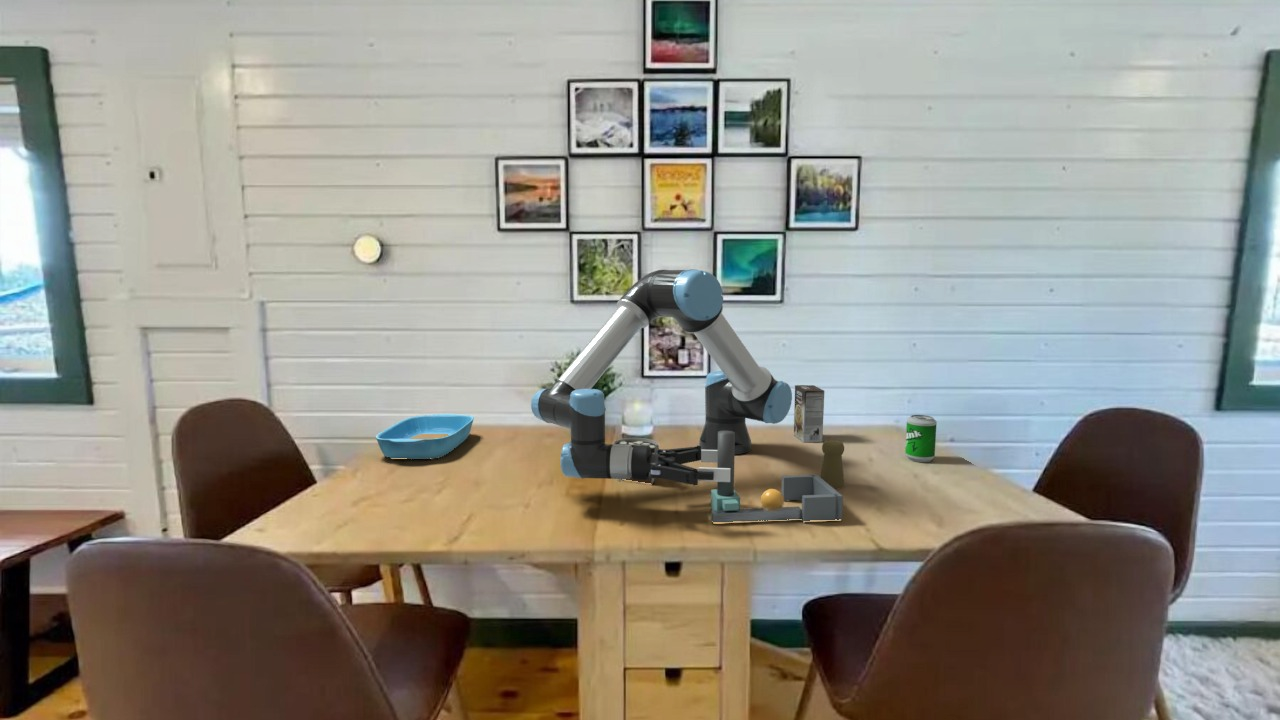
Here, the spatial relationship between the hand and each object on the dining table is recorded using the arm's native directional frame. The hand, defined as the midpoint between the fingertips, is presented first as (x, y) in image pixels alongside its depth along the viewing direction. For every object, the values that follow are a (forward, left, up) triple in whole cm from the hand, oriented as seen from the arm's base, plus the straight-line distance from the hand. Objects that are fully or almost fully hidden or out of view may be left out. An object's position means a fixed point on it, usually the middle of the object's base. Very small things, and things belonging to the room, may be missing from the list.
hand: (730, 465), depth 146 cm
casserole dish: (-99, +12, -11) cm, 100 cm away
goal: (+15, +11, -11) cm, 22 cm away
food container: (-29, +13, -11) cm, 33 cm away
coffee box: (-1, +72, -11) cm, 73 cm away
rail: (+6, -1, -11) cm, 13 cm away
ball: (+8, +6, -11) cm, 14 cm away
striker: (0, -1, -10) cm, 10 cm away
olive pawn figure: (+15, +30, -11) cm, 36 cm away
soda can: (+32, +63, -11) cm, 72 cm away
